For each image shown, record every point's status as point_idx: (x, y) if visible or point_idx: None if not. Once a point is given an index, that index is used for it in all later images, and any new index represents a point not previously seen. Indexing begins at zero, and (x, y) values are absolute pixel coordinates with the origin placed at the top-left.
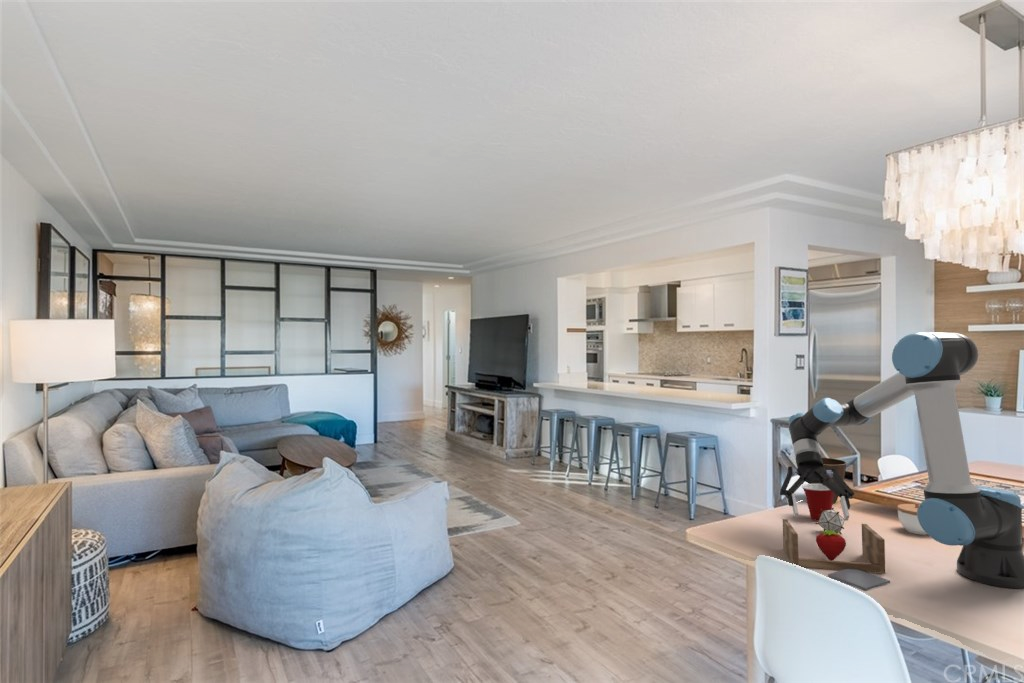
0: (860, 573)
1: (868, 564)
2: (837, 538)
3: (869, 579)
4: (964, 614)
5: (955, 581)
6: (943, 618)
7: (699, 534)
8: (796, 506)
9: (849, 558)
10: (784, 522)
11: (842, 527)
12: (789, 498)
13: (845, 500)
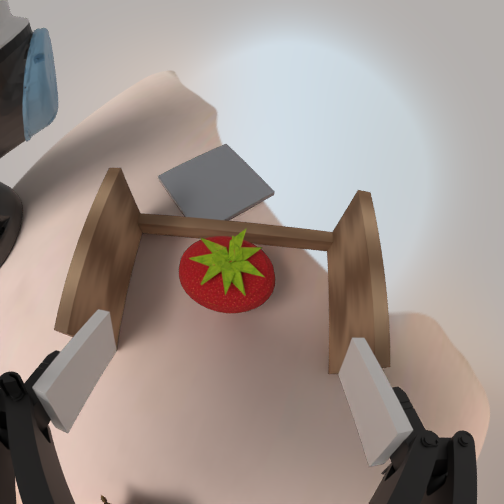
0: (198, 200)
1: (163, 216)
2: (213, 239)
3: (197, 175)
4: (135, 110)
5: (46, 205)
6: (170, 99)
7: (485, 415)
8: (367, 363)
9: (166, 319)
10: (387, 328)
11: (104, 500)
12: (409, 412)
13: (49, 366)
